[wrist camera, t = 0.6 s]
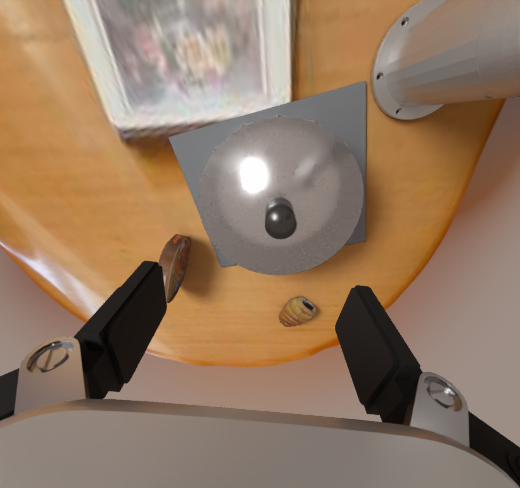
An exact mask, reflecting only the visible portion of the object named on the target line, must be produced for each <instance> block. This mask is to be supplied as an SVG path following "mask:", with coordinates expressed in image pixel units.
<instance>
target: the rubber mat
mask: <svg viewBox="0 0 520 488" xmlns="http://www.w3.org/2000/svg"><path fill="white" fill-rule="evenodd" d="M277 114H278V115H280V114H281V115H284V116H289V117H295V118H301V119H306V120H316V121H317V122H319V123H320V124H321V125H322V126H324V127H325V128H326V129H328V130H329V131H331V132H333V133H334V134H335V135H336V136H337V137H338V138H340V139H341V140H342V141H344V142H346V144H347V146H348V148H349V150H350V151H351V153H352V154H353V156H354V158H355V159H356V161H357V164H358V167H359V169H360V172H361V175H362V181H363V191H364V195H363V206H362V210H361V215H360V218H359V220H358V223H357V225H356V227H355V229H354V231H353V233H352V235H351V236H350V238H349V239H348V241H347V242H346V243H345V244H344V245H349V244H354V243H360V242H365V241H366V81H364V82H360V83H357V84H353V85H350V86H346V87H343V88H339V89H336V90H332V91H329V92H325V93H322V94H318V95H315V96H311V97H308V98H304V99H301V100H297V101H294V102H290V103H287V104H283V105H280V106H276V107H273V108H269V109H266V110H262V111H259V112H255V113H252V114H248V115H245V116H241V117H238V118H234V119H231V120H227V121H224V122H220V123H217V124H213V125H210V126H206V127H203V128H199V129H196V130H192V131H189V132H185V133H182V134H178V135H175V136H171V137H169V140H170V142H171V145H172V147H173V150H174V152H175V155H176V157H177V160H178V162H179V164H180V167H181V169H182V172H183V174H184V177H185V179H186V182H187V184H188V187H189V189H190V192H191V194H192V197H193V199H194V202H195V204H196V207H197V209H198V211H199V202H198V195H199V185H200V182H199V181H200V178H201V177H202V174H203V171H204V169H205V166H206V164H207V162H208V160H209V159H210V157H211V155H212V153H213V150H214V149H215V147H217V146H218V145H220V144H221V143H222V142H223V141H224V140H225V139H226V138H227V137H229V136H230V135H231V134H232V133H234V132H235V131H236V130H237V129H238V128H239V127H240V126H241V125H243V124H245V123H251V122H255V121H259V120H262V119H266V118H269V117H273V116H276V115H277ZM199 214H200V211H199ZM209 239H210V238H209ZM210 241H211V239H210ZM211 244H212V246H213V249H214V251H215V253H216V256H217V258H218V261H219V263H220V266H221V267H226V266H231V265H237V264H236V263H234V262H232V261H231V260H230V259H228V258H227V257H226V256H224V255H223V254H222V253H221V252H220V251H219V250H218V249H217V247H216V246H215V245H214V244H213V242H212V241H211Z"/></svg>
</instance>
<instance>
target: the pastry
mask: <svg viewBox="0 0 520 488" xmlns="http://www.w3.org/2000/svg"><path fill="white" fill-rule="evenodd" d="M316 311H317V309H316V307H315V306H314V305H313V303H312V302H310V301H308V300H306V299H305V298H304V297H296V298H293V299H291V300H290V301H288V303H287V304H286V305H285V306H284V308H283V309H282V311H281V312H280V316H279V320H280V322H281V323H282V324H283V325H284V326H285V327H291V326H296V325H301V324H302V323H306V322H307V320H311V319H312V318H313V315H314V314H315V312H316Z"/></svg>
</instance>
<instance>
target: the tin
mask: <svg viewBox="0 0 520 488" xmlns="http://www.w3.org/2000/svg"><path fill="white" fill-rule="evenodd" d="M190 244H191V240H190V238H189V237H185V236H182V235H178V234H176V235H175V236H173V237H172V238H171V239H170V241H168V242H167V244H166V245H165V247H164V249H163V251H162V253H161V256H160V260H159V265H160V266H162V269H163V278H164V286H165V295H166V302H167V303H170V302H171V301H172V300H173V298H174V297H175V295H176V294H177V292H178V290H179V288H180V285H181V283H182V281H183V278H184V274H185V270H186V265H187V260H188V255H189V250H190Z"/></svg>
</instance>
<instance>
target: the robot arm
mask: <svg viewBox="0 0 520 488" xmlns="http://www.w3.org/2000/svg"><path fill="white" fill-rule="evenodd" d="M401 22H403V26H402V24H401ZM377 75H378V76H379V79H378V80H377V78H376V77H377ZM371 87H372V93H373V96H374V99H375V102H376V103H377V105H378V107H379V108H380V109H381V110H382V111H383V112H384V113H385V114H387V115H388V116H390V117H392V118H396V119H401V120H411V119H417V118H421V117H424V116H426V115H429V114H431V113H433V112H434V111H436V110H438V109H439V108H441V107H442V106H443V105H444V104H450V103H461V102H471V101H481V100H492V99H502V98H513V97H520V0H422V1H420V2H418V3H417V4H415V5H414V6H412V7H411V8H409V9H408V10H407V11H406V12H405V13H403V14H402V15H401V16H400V17H399V18H398V19H397V20H396V21H395V23H394V24H393V25H392V26H391V27H390V29H389V30H388V32H387V33H386V34H385V36H384V38H383V40H382V41H381V43H380V45H379V47H378V50H377V53H376V55H375V58H374V62H373V67H372V72H371ZM396 110H397V111H398V112H397V113H396ZM166 309H167V303H166V295H165V286H164V278H163V269H162V266H160V265H159V264H158V262H152V261H144V262H142V264H141V265H140V266H139V267H138V268H137V269H136V270H135V271H134V273H133V274H132V275H131V276H130V277H129V278H128V279H127V281H126V282H125V283H124V284H123V285H122V286H121V287H119V288H118V289H117V290H116V291H115V292H114V293H113V294H112V295H111V296H110V297H109V298H108V299H107V301H106V302H105V303H104V304H103V305H102V306H101V307H100V308H99V309H98V311H97V312H96V313H95V314H94V315H93V316H92V317H91V318H90V319H89V321H88V322H87V323H86V324H85V325H84V326H83V327H82V329H81V330H80V331H79V332H78V333H77V334H76V335H75V336H74V337H59V338H55V339H52V340H49V341H47V342H45V343H43V344H41V345H39V346H38V347H36V348H35V349H33V350H32V351H31V352H30V353H29V354H28V355H27V356H26V357H25V358H24V360H23V361H22V362H21V365H20V368H18V369H16V370H14V371H12V372H9V373H7V374H5V375H3V376H0V488H520V447H518V446H517V445H516V444H514V443H513V442H511V441H510V440H508V439H507V438H506V437H504V436H503V435H501V434H500V433H499V432H497V431H496V430H494V429H493V428H491V427H490V426H489V425H487V424H486V423H484V422H483V421H481V420H480V419H479V418H477V417H476V416H475V415H473V414H472V413H470V412H469V411H468V406H467V402H466V401H465V399H464V397H463V395H462V394H461V393H460V392H459V390H458V389H457V388H456V387H455V386H453V384H452V383H450V382H449V381H448V380H446V379H445V378H443V377H441V376H439V375H437V374H435V373H431V372H424V373H423V372H422V371H421V369H420V364H419V363H418V361H417V360H416V358H415V357H414V355H413V354H412V352H411V351H410V349H409V348H408V346H407V344H406V343H405V341H404V339H403V338H402V336H401V335H400V333H399V332H398V330H397V329H396V327H395V325H394V324H393V323H392V321H391V319H390V318H389V316H388V315H387V313H386V311H385V310H384V308H383V307H382V305H381V304H380V302H379V301H378V299H377V297H376V296H375V294H374V293H373V291H372V290H371V288H370V287H368V286H360V285H356V286H355V288H352V289H351V291H350V293H349V295H348V297H347V300H346V302H345V304H344V306H343V309H342V311H341V313H340V316H339V318H338V320H337V322H336V325H335V330H336V334H337V337H338V340H339V342H340V345H341V348H342V351H343V354H344V357H345V360H346V363H347V366H348V369H349V372H350V375H351V378H352V380H353V384H354V386H355V389H356V392H357V395H358V398H359V401H360V403H361V404H362V405H364V407H365V410H366V412H367V414H375V415H380V417H381V419H382V422H374V421H366V420H355V419H346V418H335V417H324V416H313V415H302V414H291V413H280V412H268V411H256V410H244V409H234V408H222V407H210V406H198V405H186V404H172V403H161V402H146V401H130V400H115V399H103V398H105V396H106V394H107V393H108V391H115V392H120V390H121V388H122V387H123V385H124V383H128V382H129V381H130V379H131V377H132V375H133V374H134V372H135V370H136V368H137V366H138V364H139V362H140V360H141V358H142V357H143V355H144V353H145V351H146V349H147V347H148V345H149V343H150V341H151V339H152V338H153V336H154V334H155V332H156V330H157V328H158V326H159V324H160V322H161V321H162V319H163V317H164V315H165V313H166Z"/></svg>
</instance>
